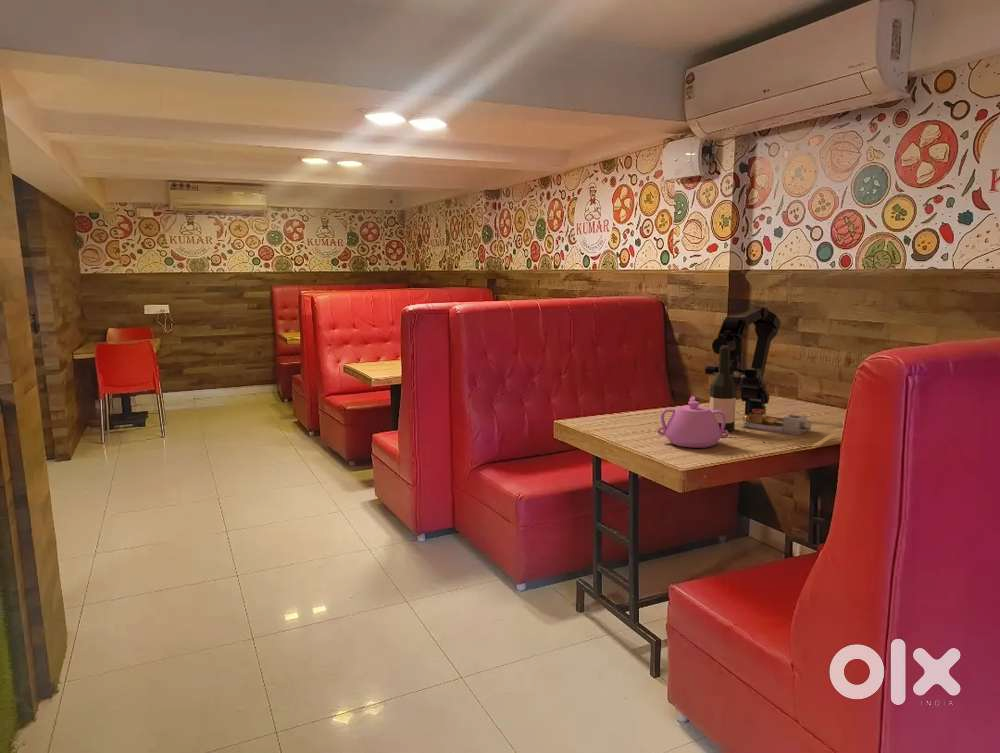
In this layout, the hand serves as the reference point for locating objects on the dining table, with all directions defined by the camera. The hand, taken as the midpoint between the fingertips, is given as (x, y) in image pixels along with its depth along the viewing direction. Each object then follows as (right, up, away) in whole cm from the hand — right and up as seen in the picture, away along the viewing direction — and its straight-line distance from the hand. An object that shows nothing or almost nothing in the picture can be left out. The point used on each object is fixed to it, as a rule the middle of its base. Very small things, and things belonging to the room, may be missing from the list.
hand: (731, 395), depth 241 cm
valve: (+7, -11, -5) cm, 14 cm away
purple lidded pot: (-21, -15, -22) cm, 34 cm away
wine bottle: (-7, -13, -9) cm, 17 cm away
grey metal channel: (+12, -12, -8) cm, 19 cm away
